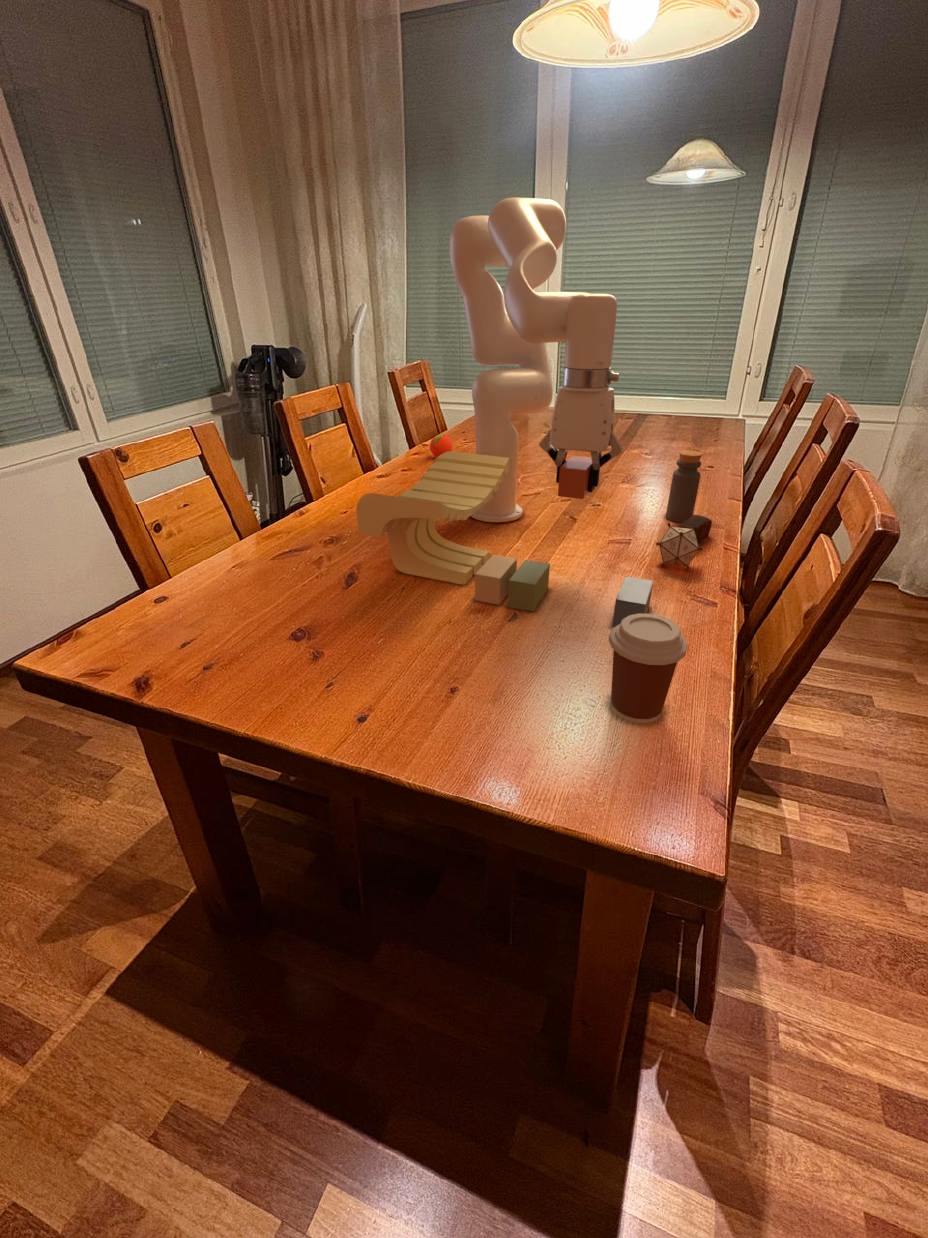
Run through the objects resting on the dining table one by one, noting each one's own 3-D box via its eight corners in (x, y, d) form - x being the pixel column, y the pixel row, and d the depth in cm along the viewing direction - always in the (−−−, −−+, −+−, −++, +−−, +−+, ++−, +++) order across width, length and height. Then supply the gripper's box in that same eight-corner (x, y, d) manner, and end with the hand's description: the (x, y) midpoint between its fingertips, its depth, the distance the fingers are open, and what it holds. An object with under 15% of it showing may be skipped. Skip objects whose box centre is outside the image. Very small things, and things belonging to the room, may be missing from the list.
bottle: (693, 516, 141) (706, 451, 133) (690, 524, 136) (703, 457, 129) (667, 512, 143) (678, 448, 135) (663, 520, 138) (675, 454, 131)
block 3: (611, 627, 95) (615, 599, 93) (621, 602, 103) (625, 576, 100) (640, 632, 94) (645, 604, 92) (648, 607, 101) (653, 580, 99)
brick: (690, 551, 122) (695, 529, 120) (672, 546, 124) (676, 525, 122) (709, 536, 129) (714, 516, 127) (691, 532, 131) (695, 511, 129)
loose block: (557, 496, 105) (559, 467, 102) (569, 482, 112) (572, 455, 110) (583, 499, 103) (586, 470, 101) (594, 485, 110) (596, 457, 108)
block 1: (474, 600, 103) (474, 573, 101) (492, 579, 111) (493, 554, 108) (499, 605, 102) (500, 578, 99) (515, 583, 109) (517, 558, 107)
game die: (678, 580, 119) (714, 540, 116) (679, 583, 111) (718, 540, 108) (642, 551, 120) (677, 511, 117) (641, 552, 112) (678, 509, 109)
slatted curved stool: (437, 531, 131) (435, 449, 123) (506, 543, 126) (509, 457, 117) (363, 587, 107) (354, 490, 99) (443, 605, 102) (442, 503, 93)
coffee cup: (688, 714, 76) (707, 633, 70) (637, 739, 72) (652, 655, 66) (635, 679, 83) (648, 602, 77) (585, 700, 79) (595, 620, 73)
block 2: (507, 606, 101) (508, 579, 99) (523, 585, 109) (525, 559, 106) (533, 611, 100) (535, 584, 97) (548, 589, 107) (550, 563, 105)
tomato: (444, 462, 181) (444, 438, 178) (424, 460, 184) (423, 436, 180) (456, 456, 187) (456, 433, 184) (436, 454, 190) (436, 430, 186)
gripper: (642, 378, 99) (628, 488, 108) (542, 374, 104) (536, 478, 113) (635, 384, 93) (621, 500, 101) (529, 379, 98) (524, 489, 107)
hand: (576, 487), depth 107 cm, fingers closed on loose block, 4 cm apart
